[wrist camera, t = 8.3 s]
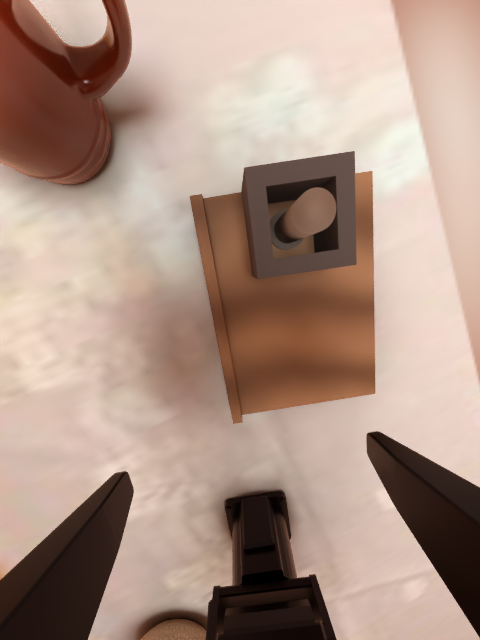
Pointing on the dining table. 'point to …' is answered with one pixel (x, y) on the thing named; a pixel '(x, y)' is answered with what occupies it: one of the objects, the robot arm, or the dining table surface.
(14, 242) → the dining table surface
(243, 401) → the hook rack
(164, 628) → the planter
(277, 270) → the gray square frame
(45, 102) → the mug
